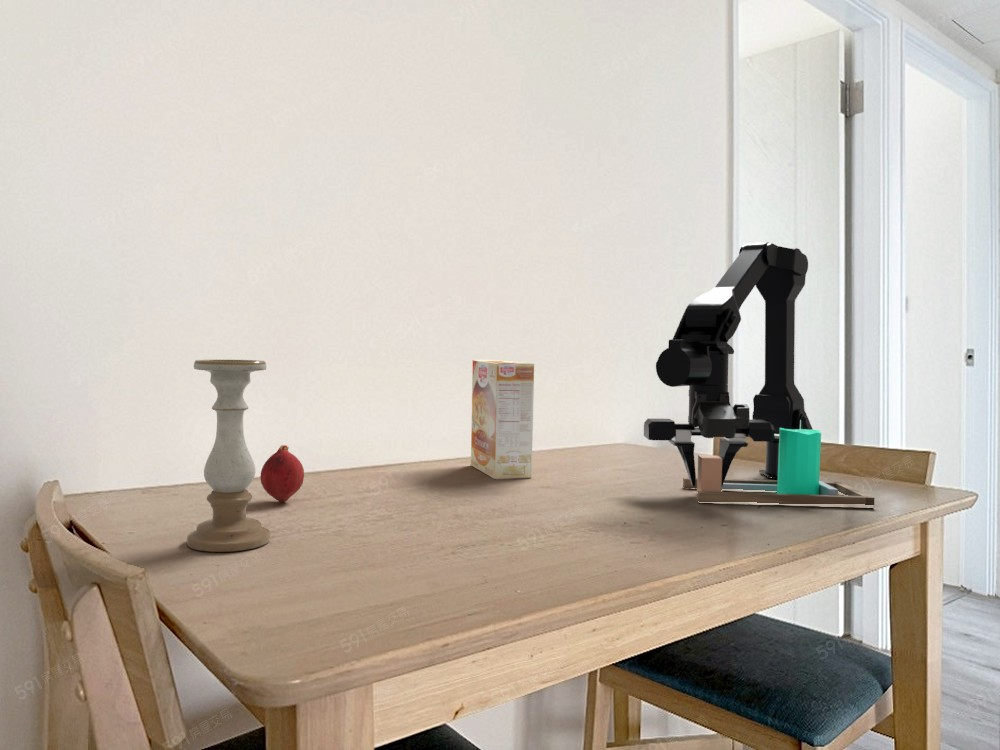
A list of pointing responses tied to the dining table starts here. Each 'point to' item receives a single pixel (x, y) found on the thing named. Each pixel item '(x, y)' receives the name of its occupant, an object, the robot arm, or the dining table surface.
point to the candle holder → (229, 464)
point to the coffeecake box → (502, 418)
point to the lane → (783, 495)
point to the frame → (712, 479)
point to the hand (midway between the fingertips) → (706, 486)
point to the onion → (282, 474)
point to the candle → (799, 461)
